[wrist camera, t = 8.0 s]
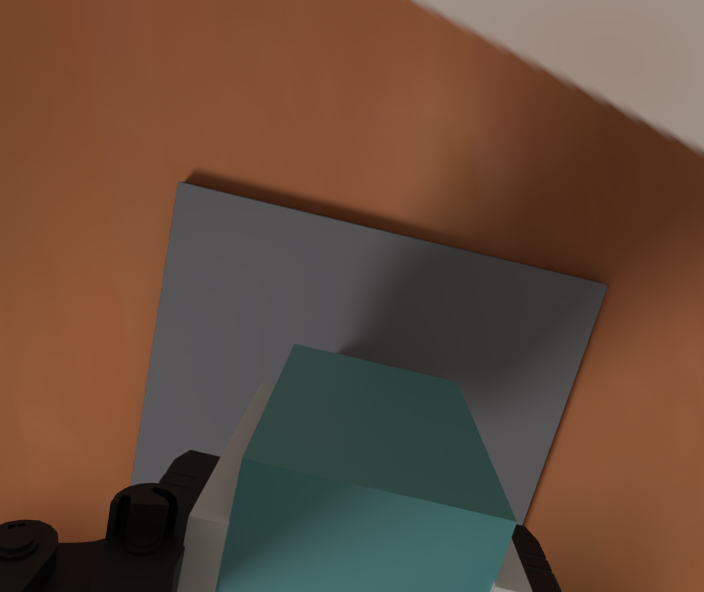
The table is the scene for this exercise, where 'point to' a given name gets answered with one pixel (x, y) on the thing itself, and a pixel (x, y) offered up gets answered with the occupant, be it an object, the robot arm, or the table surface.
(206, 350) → the grey square base plate
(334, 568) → the teal block
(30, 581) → the robot arm
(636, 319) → the table surface
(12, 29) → the table surface
